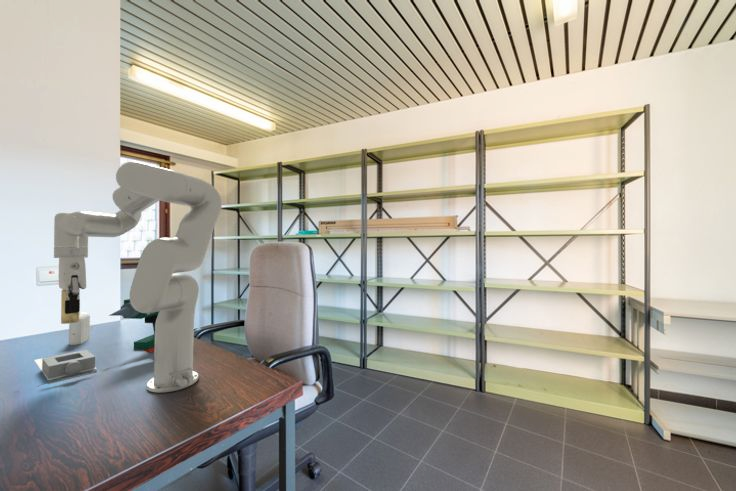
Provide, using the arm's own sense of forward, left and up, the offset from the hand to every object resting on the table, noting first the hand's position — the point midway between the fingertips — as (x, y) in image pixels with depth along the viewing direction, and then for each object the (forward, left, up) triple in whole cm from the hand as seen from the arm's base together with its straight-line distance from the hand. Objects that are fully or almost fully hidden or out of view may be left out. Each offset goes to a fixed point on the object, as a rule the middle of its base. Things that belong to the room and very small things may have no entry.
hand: (70, 311), depth 93 cm
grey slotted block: (+5, 0, -19) cm, 19 cm away
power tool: (+4, -21, -19) cm, 29 cm away
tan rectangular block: (0, 0, -3) cm, 3 cm away
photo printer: (+32, -8, -19) cm, 38 cm away
